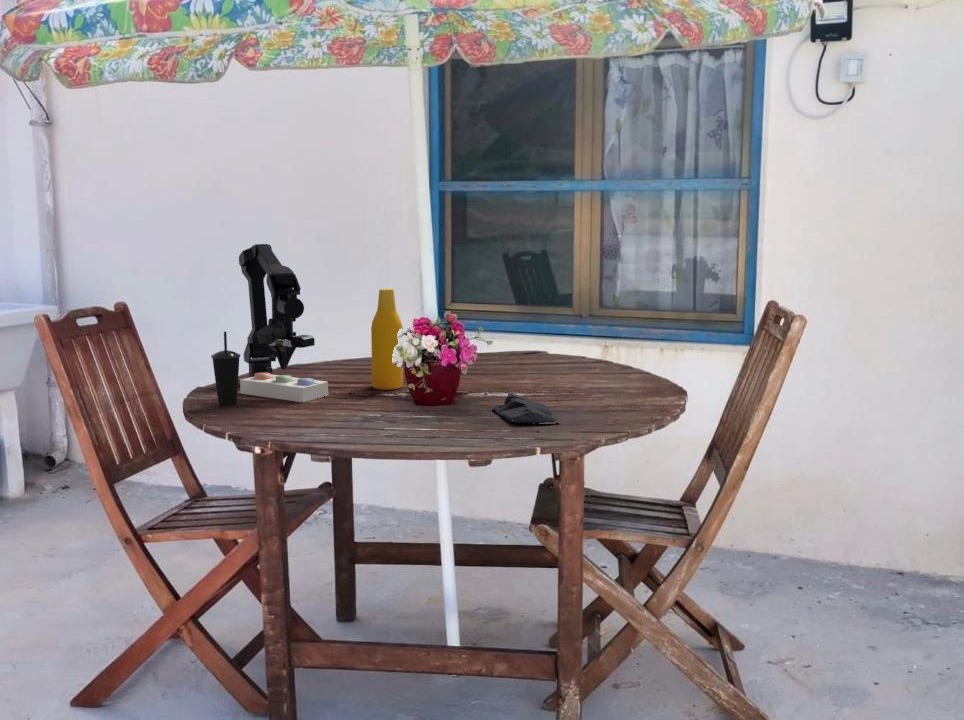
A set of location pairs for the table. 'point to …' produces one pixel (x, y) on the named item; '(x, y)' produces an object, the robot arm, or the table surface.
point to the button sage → (284, 378)
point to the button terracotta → (262, 376)
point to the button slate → (305, 381)
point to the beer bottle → (385, 343)
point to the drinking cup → (226, 375)
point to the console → (283, 389)
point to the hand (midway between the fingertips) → (283, 369)
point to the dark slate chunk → (523, 410)
